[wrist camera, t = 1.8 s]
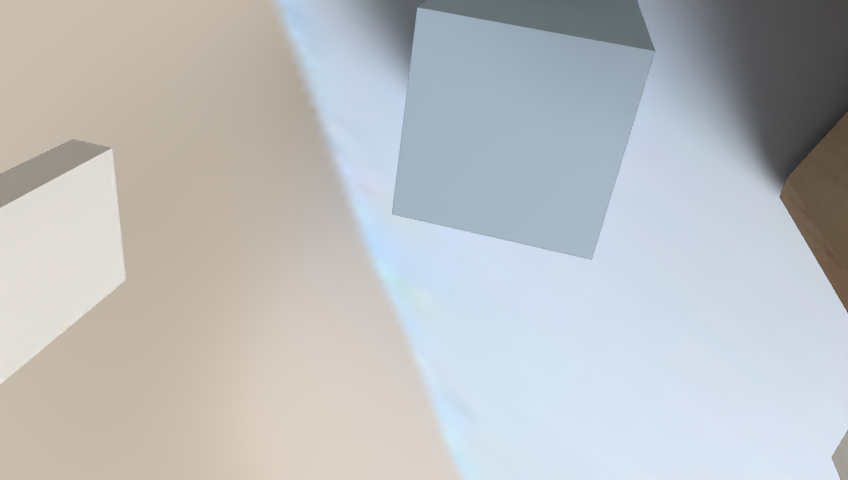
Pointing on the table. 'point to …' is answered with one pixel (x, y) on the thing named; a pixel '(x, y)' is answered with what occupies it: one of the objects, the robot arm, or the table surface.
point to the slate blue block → (520, 116)
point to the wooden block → (824, 204)
